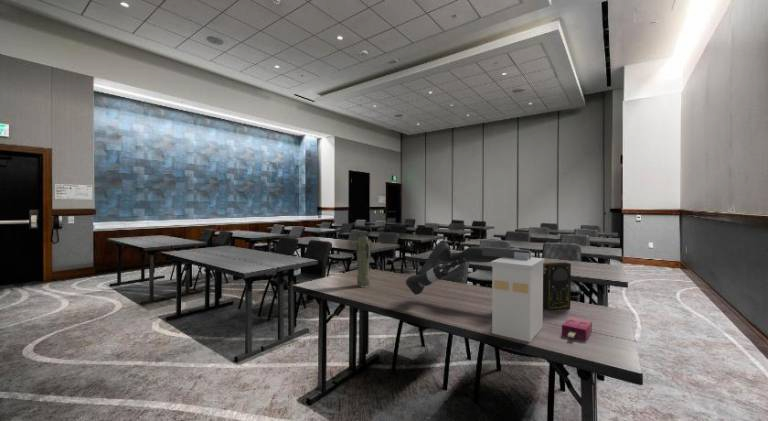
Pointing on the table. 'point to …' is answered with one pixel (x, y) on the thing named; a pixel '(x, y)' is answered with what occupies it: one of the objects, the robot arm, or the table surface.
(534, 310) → the cabinet
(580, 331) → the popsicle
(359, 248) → the thermos
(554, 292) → the voltmeter
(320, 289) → the table surface
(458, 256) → the robot arm
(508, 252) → the cable bar
